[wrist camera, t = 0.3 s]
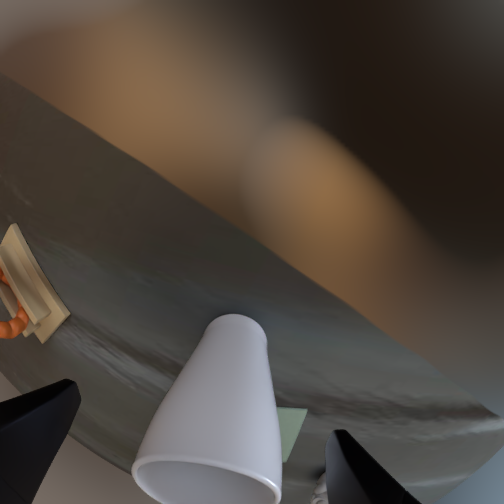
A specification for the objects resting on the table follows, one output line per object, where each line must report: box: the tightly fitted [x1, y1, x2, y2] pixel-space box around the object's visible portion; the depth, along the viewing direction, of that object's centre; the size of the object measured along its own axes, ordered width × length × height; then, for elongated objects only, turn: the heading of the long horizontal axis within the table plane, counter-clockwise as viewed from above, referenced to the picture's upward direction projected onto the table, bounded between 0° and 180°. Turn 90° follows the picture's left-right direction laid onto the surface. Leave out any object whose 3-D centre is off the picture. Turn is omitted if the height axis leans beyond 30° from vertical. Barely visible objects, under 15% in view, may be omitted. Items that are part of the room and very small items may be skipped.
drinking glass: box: [131, 314, 282, 504], centre depth 15 cm, size 7×7×15 cm
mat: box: [277, 407, 307, 462], centre depth 25 cm, size 10×10×1 cm
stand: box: [0, 223, 71, 344], centre depth 21 cm, size 12×7×4 cm, turn 37°
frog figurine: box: [310, 472, 329, 504], centre depth 23 cm, size 6×7×7 cm
